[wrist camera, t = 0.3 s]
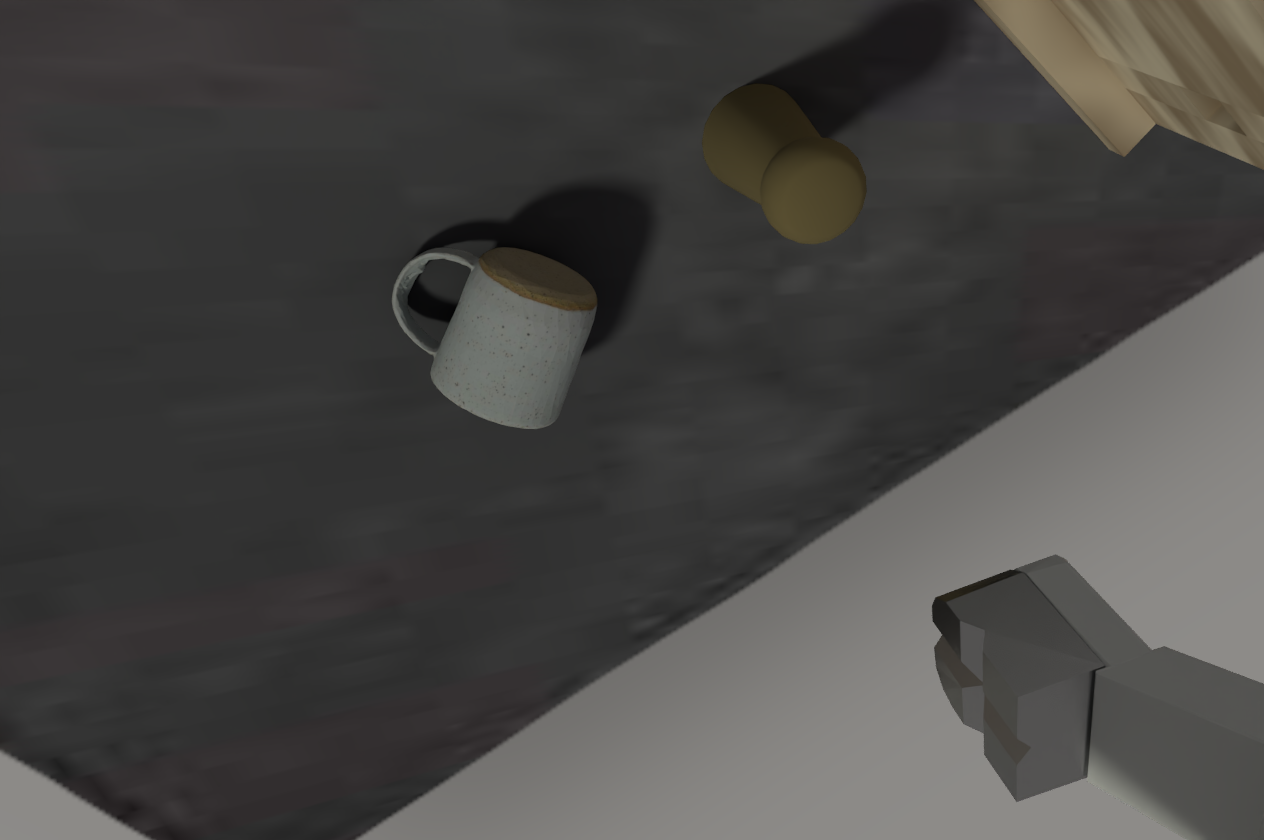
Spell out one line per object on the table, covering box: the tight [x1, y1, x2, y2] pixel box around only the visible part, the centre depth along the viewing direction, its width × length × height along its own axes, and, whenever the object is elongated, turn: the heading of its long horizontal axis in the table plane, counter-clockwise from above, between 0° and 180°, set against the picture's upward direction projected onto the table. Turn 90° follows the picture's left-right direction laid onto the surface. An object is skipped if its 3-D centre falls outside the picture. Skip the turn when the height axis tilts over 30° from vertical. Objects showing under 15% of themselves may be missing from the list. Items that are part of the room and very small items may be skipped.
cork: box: [702, 83, 867, 244], centre depth 54 cm, size 6×6×11 cm
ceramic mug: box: [392, 247, 597, 429], centre depth 57 cm, size 11×8×8 cm
